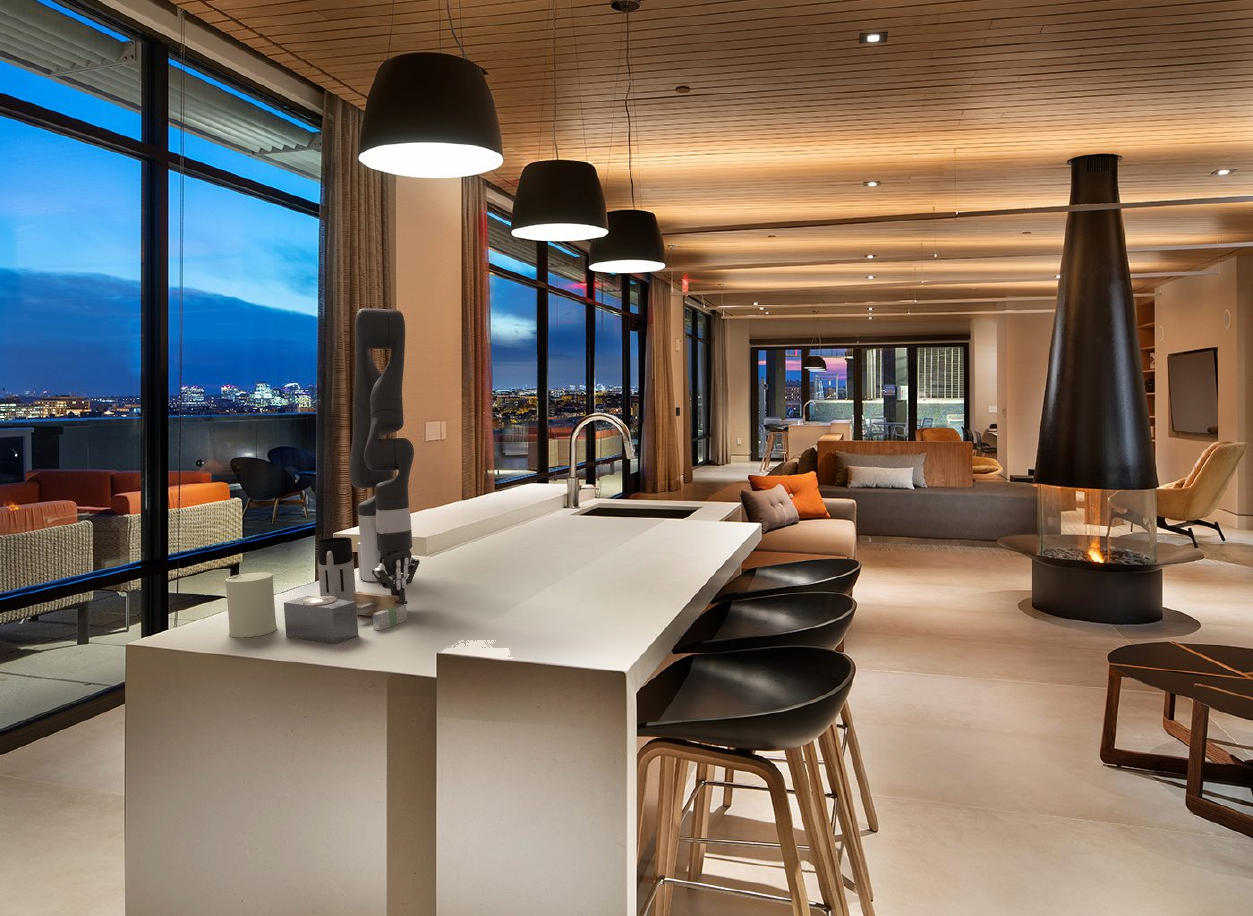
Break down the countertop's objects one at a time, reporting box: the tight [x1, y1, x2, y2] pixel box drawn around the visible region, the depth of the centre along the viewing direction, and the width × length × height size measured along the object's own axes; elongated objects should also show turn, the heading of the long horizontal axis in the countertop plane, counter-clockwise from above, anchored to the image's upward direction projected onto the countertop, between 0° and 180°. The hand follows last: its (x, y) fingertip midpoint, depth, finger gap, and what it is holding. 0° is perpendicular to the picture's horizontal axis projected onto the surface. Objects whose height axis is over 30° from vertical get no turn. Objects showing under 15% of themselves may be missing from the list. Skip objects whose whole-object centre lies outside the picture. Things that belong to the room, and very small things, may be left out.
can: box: [224, 571, 278, 639], centre depth 178 cm, size 9×9×12 cm
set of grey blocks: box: [283, 595, 408, 645], centre depth 177 cm, size 15×19×7 cm
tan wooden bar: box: [353, 591, 408, 617], centre depth 183 cm, size 15×6×5 cm, turn 61°
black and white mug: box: [316, 536, 357, 601], centre depth 196 cm, size 9×14×15 cm, turn 10°
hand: (398, 605), depth 191 cm, fingers closed
